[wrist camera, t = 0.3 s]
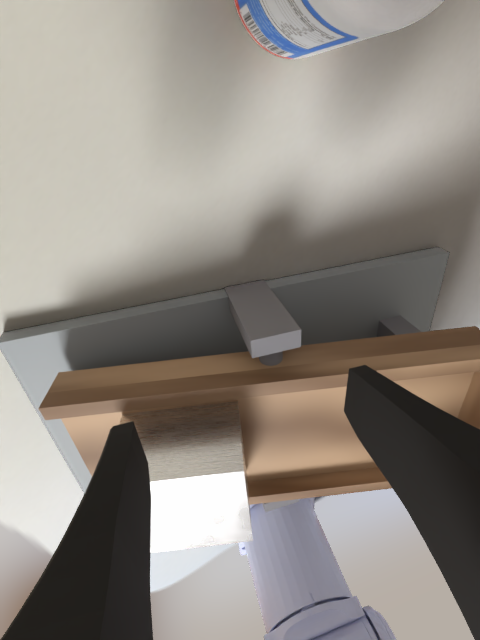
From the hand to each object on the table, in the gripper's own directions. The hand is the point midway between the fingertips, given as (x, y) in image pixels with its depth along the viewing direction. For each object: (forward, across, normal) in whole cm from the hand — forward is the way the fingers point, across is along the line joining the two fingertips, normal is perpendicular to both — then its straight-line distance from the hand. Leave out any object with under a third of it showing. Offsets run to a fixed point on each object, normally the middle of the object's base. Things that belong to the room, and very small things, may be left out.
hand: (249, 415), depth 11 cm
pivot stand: (+10, -3, +7) cm, 13 cm away
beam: (+5, -3, +7) cm, 9 cm away
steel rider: (+6, +2, +7) cm, 10 cm away
